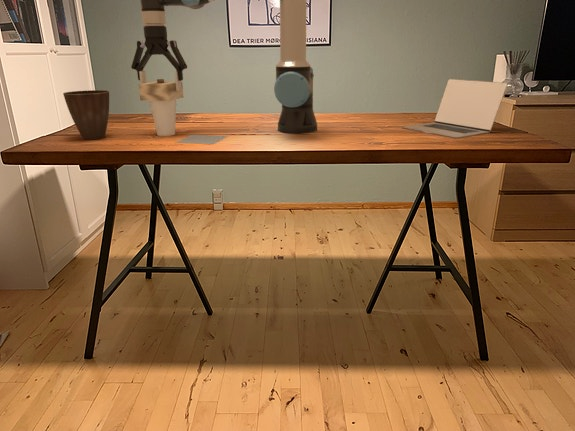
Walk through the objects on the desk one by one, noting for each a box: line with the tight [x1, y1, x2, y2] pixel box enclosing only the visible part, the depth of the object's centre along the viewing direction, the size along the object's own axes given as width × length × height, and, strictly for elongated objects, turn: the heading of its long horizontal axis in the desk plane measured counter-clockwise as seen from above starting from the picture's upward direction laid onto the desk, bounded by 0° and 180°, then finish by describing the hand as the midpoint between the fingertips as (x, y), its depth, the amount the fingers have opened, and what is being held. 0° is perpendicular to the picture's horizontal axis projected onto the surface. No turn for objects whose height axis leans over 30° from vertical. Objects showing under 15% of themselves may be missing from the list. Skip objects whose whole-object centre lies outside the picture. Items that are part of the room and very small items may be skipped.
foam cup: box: [148, 99, 177, 137], centre depth 166 cm, size 10×9×13 cm
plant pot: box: [63, 89, 110, 140], centre depth 162 cm, size 15×15×16 cm
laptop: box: [401, 78, 508, 140], centre depth 169 cm, size 26×24×18 cm
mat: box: [174, 134, 229, 145], centre depth 159 cm, size 14×14×1 cm
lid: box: [138, 78, 184, 102], centre depth 162 cm, size 11×11×7 cm
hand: (161, 90), depth 162 cm, fingers open, 13 cm apart
